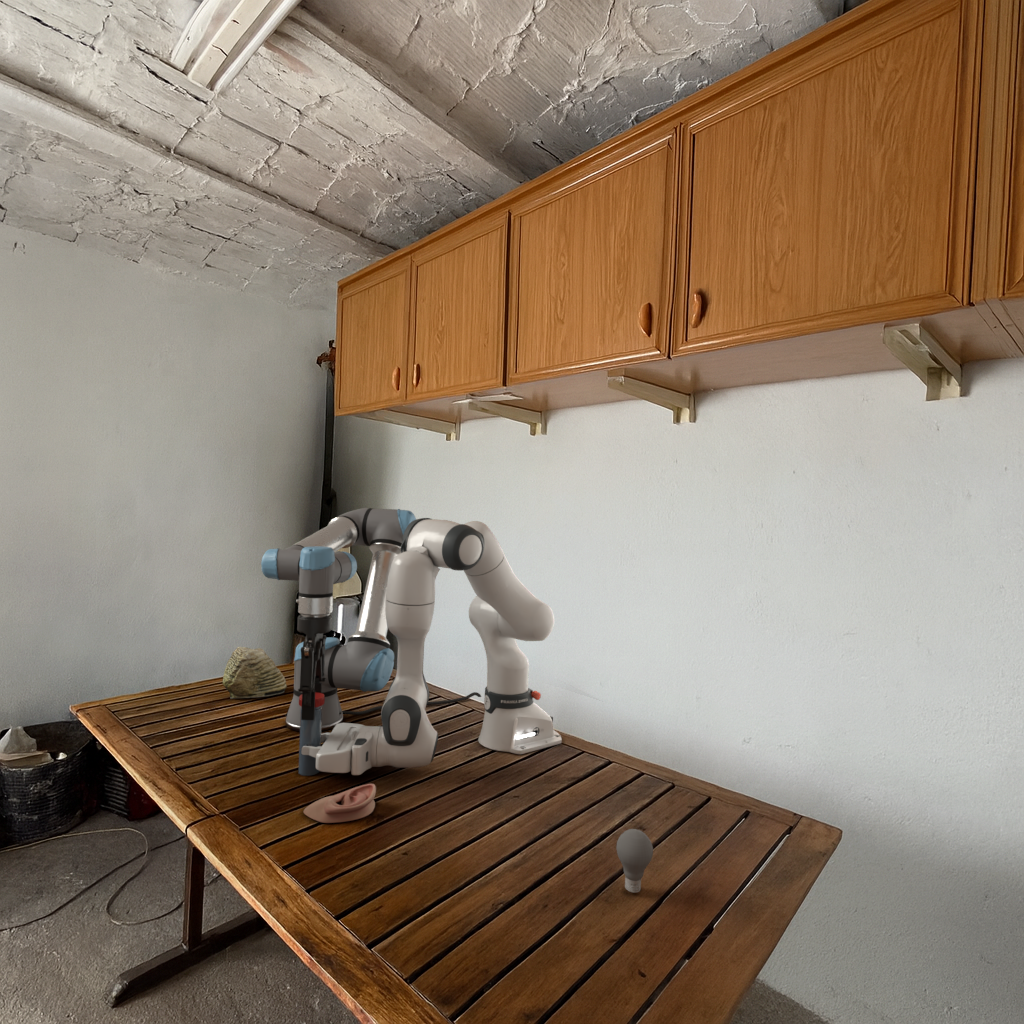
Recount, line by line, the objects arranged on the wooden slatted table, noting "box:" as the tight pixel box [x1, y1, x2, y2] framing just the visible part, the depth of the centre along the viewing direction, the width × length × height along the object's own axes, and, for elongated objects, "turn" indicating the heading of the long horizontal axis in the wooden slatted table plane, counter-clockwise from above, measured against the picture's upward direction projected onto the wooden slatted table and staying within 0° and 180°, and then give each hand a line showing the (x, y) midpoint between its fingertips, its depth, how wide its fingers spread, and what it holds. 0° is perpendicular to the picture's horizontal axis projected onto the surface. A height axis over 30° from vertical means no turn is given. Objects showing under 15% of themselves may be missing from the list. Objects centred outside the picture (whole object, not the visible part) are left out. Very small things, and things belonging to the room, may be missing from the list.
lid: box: [299, 692, 325, 707], centre depth 145 cm, size 6×6×2 cm
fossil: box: [222, 646, 288, 699], centre depth 198 cm, size 9×18×15 cm, turn 132°
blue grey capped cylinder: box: [297, 706, 322, 777], centre depth 146 cm, size 5×5×16 cm
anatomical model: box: [302, 783, 377, 824], centre depth 128 cm, size 13×4×12 cm
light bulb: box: [615, 828, 654, 894], centre depth 106 cm, size 6×6×10 cm
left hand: (311, 714), depth 145 cm, fingers closed on lid, 5 cm apart
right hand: (306, 744), depth 146 cm, fingers closed on blue grey capped cylinder, 5 cm apart
